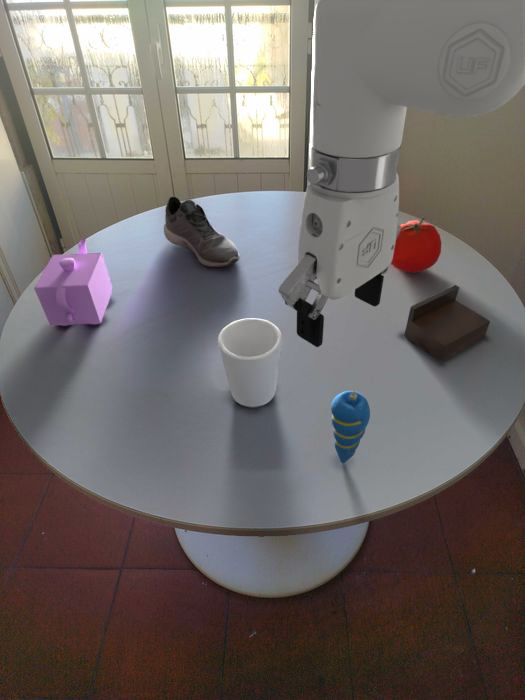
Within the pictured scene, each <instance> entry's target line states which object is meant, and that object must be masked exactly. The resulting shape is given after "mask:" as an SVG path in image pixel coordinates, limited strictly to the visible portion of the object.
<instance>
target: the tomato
mask: <svg viewBox="0 0 525 700" xmlns="http://www.w3.org/2000/svg"><path fill="white" fill-rule="evenodd" d="M425 219H426V218H425V217H422V219H421V220H420V221H419V220H418V219H415V220H408V222H406V223H402V224H400V225H401V230H400V232H399V234H398V237H397V239H396V242H395V248H394V254H393V259H392V262H391V263H390V265H392V266H393V267H394V268H395V269H397V270H399V271H403V272H407V273H410V274H411V273H412V274H413V273H414V274H415V273H417V274H418V273H420V272H423V271H425V270H427V269H430V268H432V267H433V266H434V265H435V264H436V263H437V262H438V260H439V258H440V255H441V253H442V239H441V235H440V233H439V232H438V230H437V228H436V227H435V225H432V224H430V223H425V222H424V223H423V221H424V220H425Z"/></svg>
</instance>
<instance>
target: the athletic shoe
mask: <svg viewBox="0 0 525 700" xmlns="http://www.w3.org/2000/svg"><path fill="white" fill-rule="evenodd" d="M164 216H165V217H164V218H165V219H164V221H165V223H164V226H163V234H164V236H165V238H166V240H167V241H169V242H170V243H172V244H174V245H176V246H180V247H183V248H187V249H189V250H191V251H192V252H193V253H194V254H195V256H196V258H197V260H198V262H199V263H200V264H201V265H203V266H206V267H210V268H222V267H227V266H230V265H232V264H234V263H236V262H238V261H239V260H240V259H241V255H240V252H239V250H238V248H237V246H236V245H235V244H234V242H233V241H232V240H230V238H228V237H226V236H225V235H224V234H222V233H220V232H219V231H218V230H217V229H216V228H215V227H214V226H213V224H212V223H211V222H210V220H209V219H208V217H207V215H206V213H205V209H204V208H202V206H200V204H199V203H197V204H196V202H195V201H194V200H192V199H187V200H184V201H182V202H181V201H180V199H179V198H178V197H176V196H170V197H169V198H168V200H167V203H166V206H165V215H164Z"/></svg>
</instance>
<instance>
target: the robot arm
mask: <svg viewBox="0 0 525 700" xmlns="http://www.w3.org/2000/svg"><path fill="white" fill-rule="evenodd" d="M313 15H314V16H313V27H312V28H313V31H312V32H313V33H312V34H313V35H312V66H311V67H312V69H311V98H310V99H311V100H310V101H311V102H310V103H311V104H310V139H309V140H310V141H309V142H310V143H309V168H308V170H307V172H306V178H307V179H306V180H307V181H308V182H309V185H308V186H307V187H306V190H305V195H304V199H303V206H302V212H301V217H300V224H299V235H298V248H297V249H298V250H297V251H298V252H297V265H296V266H295V268H294V269H293V270H292V271H291V272H290V274H288V276H287V277H286V278H285V279H284V281H283V282H282V283H281V284H280V285H279V287H278V293H279V295H280V296H281V298H282V300H283V301H284V304H285V305H286V306H288V307H290V308H291V309H293V310H295V311H296V334H297V336H298V337H300V338H301V339H302V340H304V341H306V342H307V343H309V344H310V345H312V346H314V347H315V348H319V347H321V346H322V345H323V341H324V327H325V325H324V323H325V315H324V314H322V313H321V312H322V311H323V309H324V307H325V305H326V304H327V302H328V299H329V300H332V301H334V300H339V299H341V298H343V297H345V296H347V295H348V294H350V293H352V292H354V297H355V298H356V299H358V300H360V301H361V302H364V303H366V304H368V305H370V306H372V307H377V306H379V305H380V303H381V296H382V290H383V285H384V278H385V276H384V275H385V274H386V273H387V272H388V269H389V266H390V265H391V262H392V259H393V254H394V248H395V242H396V239H397V237H398V234H399V232H400V230H401V225H402V224H398V223H399V211H400V180H399V174H398V166H399V160H400V154H401V148H402V142H403V136H404V128H405V123H406V117H407V110H408V108H409V109H414V110H417V111H422V112H426V113H429V114H433V115H439V116H443V117H450V118H463V119H464V118H474V117H479V116H483V115H486V114H490V113H491V112H493V111H496V110H498V109H499V108H501V107H503V106H504V105H505V104H507V103H508V102H509V101H511V100H512V99H513V98H515V96H516V95H517V94H519V92H520V91H521V89H522V88H523V87H524V86H525V0H317V2H316V6H315V9H314V13H313ZM315 280H317V283H316V282H315ZM311 290H314V291H315V292H317V295H316V297H315V299H314V301H313V302H312V303H310V302H308V301H306V300H307V299H308V297H309V295H310V293H311Z"/></svg>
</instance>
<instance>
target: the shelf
mask: <svg viewBox="0 0 525 700" xmlns="http://www.w3.org/2000/svg"><path fill="white" fill-rule="evenodd" d="M459 292H460V286H459V285H457V284H454V285H452V286H450V287H448V288H446V289H443V290H442V291H440V292H438V293H436V294H434V295H432V296H430V297H428V298H426V299H424V300H422V301H419V302H417V303H414V304H413V305H411V306H410V307H409V313H408V317H407V321H406V326H405V329H404V330H405V331H404V336H405V338H407V339H409V340H410V341H411V342H413V344H415V345H416V346H418V347H419V348H421V349H422V350H423V351H424V352H426V353H428V354H429V355H430V356H432V357H433V358H434V359H436V360H437V361H439V363H441V362H443V361H445V360H447V359H448V358H450V357H452V356H453V355H455V354H457V353H459V352H461V351H463V350H464V349H466V348H468V347H470V346H472V345H473V344H475V343H477V342H479V341H480V340H482V339H485V336H486V334H487V332H488V329H489V325H490V323H491V320H489V318H486V317H485V316H483V315H481V314H479V313H478V312H476V311H474V310H473V309H471V308H469V307H468V306H467V305H465V304H463V303H462V302H460V301H458V300H457V298H458V295H459Z"/></svg>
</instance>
